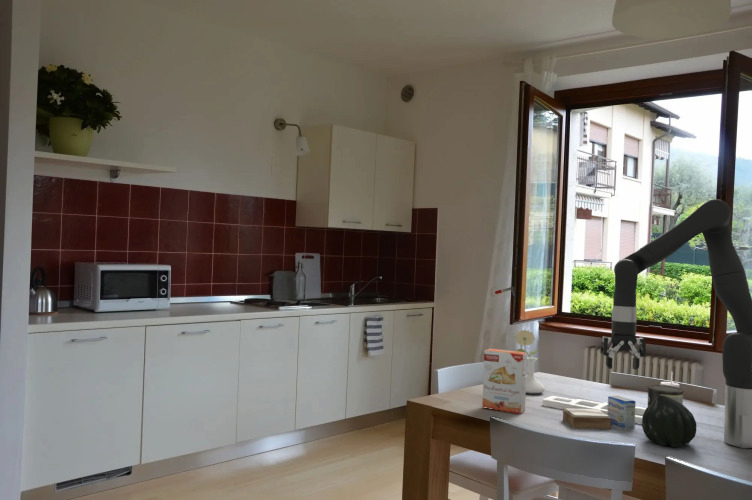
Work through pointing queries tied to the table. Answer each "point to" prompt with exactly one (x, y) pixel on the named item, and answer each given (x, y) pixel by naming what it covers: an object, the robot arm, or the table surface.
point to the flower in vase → (529, 361)
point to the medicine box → (621, 411)
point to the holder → (585, 405)
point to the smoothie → (670, 382)
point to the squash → (668, 422)
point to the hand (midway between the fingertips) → (622, 368)
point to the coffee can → (665, 392)
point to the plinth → (586, 418)
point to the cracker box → (504, 380)
